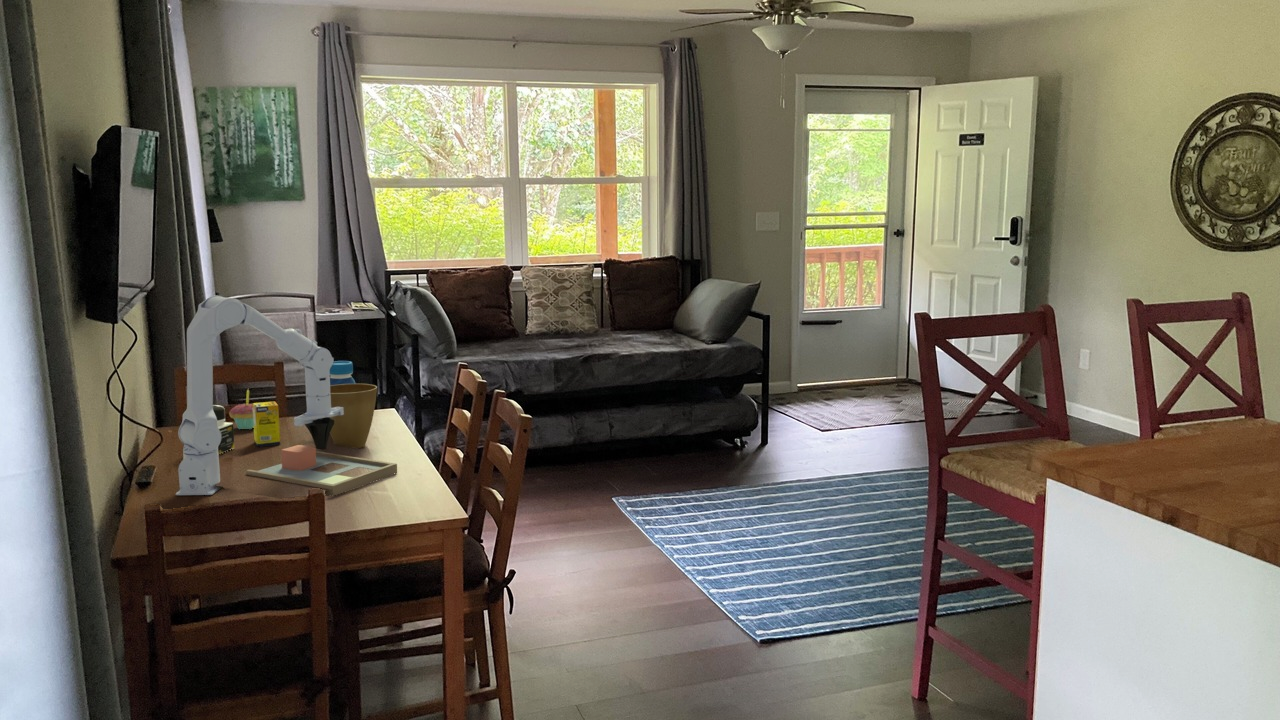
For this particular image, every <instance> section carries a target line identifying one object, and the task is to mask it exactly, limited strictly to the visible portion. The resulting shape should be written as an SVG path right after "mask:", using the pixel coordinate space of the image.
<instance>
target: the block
mask: <svg viewBox="0 0 1280 720" xmlns="http://www.w3.org/2000/svg"><path fill="white" fill-rule="evenodd" d="M316 451H317V449H316V446H308V445H304V444H303V445H302V444H297V445H294V446H290V447H286V448H283V449H280V452H281V453H280V454H281V455H280V457H281V464H282V468H285V469H291V470H296V471H301V470H304V469H307V468H310V467H313V466H316Z"/></svg>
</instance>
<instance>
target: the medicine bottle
mask: <svg viewBox="0 0 1280 720" xmlns="http://www.w3.org/2000/svg"><path fill="white" fill-rule="evenodd" d="M213 411H214V413H215V415H216V418H217V426H218V429H219V430H220V432H221V442H220V444H219V446H218V455H219V454H220V455H222V454H224V453H223V452H225V453H227V452H229V451H228V450H230V451H231V449H232V450H234V449H235V448H236V447H235V433H234V423H233V422H227V421H226V410H225V407H224V406H222V405H218V404H213ZM226 451H227V452H226ZM221 453H222V454H221ZM220 455H219V456H220Z"/></svg>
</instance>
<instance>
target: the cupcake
mask: <svg viewBox="0 0 1280 720" xmlns="http://www.w3.org/2000/svg"><path fill="white" fill-rule="evenodd" d="M245 400H246V401H245V403H239V404H236V405H235V406H233V407H232V408H231V409H230V410H229V412H228V415H229V417H230V418H231V419H233V420H234V423H235V425H236V427H237V429H238V430H240V429H249V430H252V428H254V424H253V408H252V404H253V403H249V402H250V390H249V387H248V388H247V390H246V397H245Z"/></svg>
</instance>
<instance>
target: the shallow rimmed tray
mask: <svg viewBox="0 0 1280 720" xmlns="http://www.w3.org/2000/svg"><path fill="white" fill-rule="evenodd" d="M329 464H337V465H343V466H345V467H342V468H339V469H335V470H333V471H330V472H323V471H318V470H313V469H316V468H319V467H323V466H326V465H329ZM357 468H362V469H368V470H371V471H367V472H365V473H362V474H359V475H355V476H346V475H340V474H341V473H346V472H348V471H351V470H353V469H357ZM245 473H246V474H245V475H248V476H254V477H259V478H265V479H268V480H269V479H270V480H276V481H280V482H281V481H282V482H287V483H292V484H297V485H303V486H309V487H313V488H320V489H325V494H326V495H325V496H329V495H331V496H330V497H335V496H334V495H336V496H338V495H337V494H339V495H341V494H340V493H342V494H344V493H343V492H345V491H347V492H349V491H348V490H350V491H352V490H351V489H353V488H356V489H358V488H360V487H359V486H361V487H363V486H362V485H364V486H366V485H365V484H367V485H369V484H371V483H370V482H372V483H374V482H373V481H375V482H377V481H376V480H378V481H380V480H382V478H383V479H385V477H386V478H389V477H391V476H393V475H392V474H394V473H397V474H398V464H397V463H394V462H388V461H382V460H376V459H369V458H364V457H356V456H350V455H345V454H344V455H343V454H338V453H331V452H326V451H321V450H316V466H313V467H310V468H307V469H304V470H301V471H296V470H291V469H285V468H282V463H279V464H275V465H273V466H269V467H265V468H262V469H259V470H255V469H247V470H245ZM390 475H391V476H390ZM394 475H395V474H394ZM388 476H389V477H388ZM379 479H380V480H379ZM368 483H369V484H368ZM357 487H358V488H357ZM353 490H354V489H353ZM345 493H346V492H345ZM332 495H333V496H332Z"/></svg>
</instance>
